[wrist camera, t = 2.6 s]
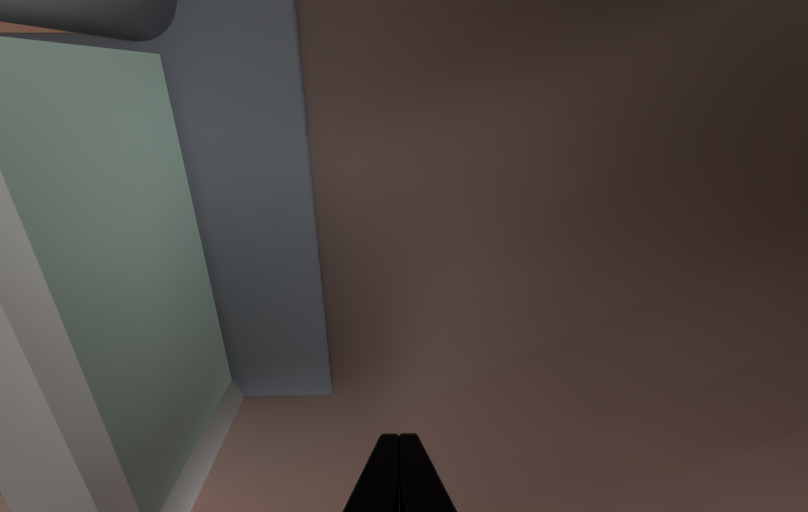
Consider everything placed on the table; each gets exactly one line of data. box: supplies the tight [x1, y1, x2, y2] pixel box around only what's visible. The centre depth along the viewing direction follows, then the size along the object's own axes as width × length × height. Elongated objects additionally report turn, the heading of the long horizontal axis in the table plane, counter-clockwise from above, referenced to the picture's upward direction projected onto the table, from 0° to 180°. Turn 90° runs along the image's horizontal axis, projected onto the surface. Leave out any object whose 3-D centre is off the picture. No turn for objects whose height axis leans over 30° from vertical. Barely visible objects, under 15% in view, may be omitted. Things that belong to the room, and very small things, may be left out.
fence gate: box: [0, 36, 243, 512], centre depth 9 cm, size 12×2×7 cm, turn 0°
